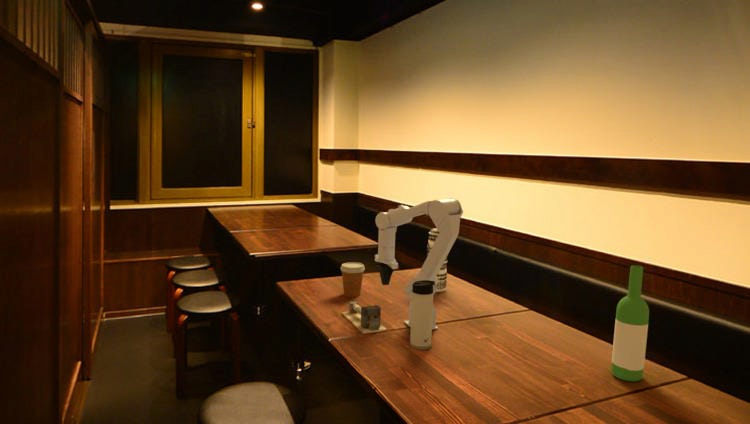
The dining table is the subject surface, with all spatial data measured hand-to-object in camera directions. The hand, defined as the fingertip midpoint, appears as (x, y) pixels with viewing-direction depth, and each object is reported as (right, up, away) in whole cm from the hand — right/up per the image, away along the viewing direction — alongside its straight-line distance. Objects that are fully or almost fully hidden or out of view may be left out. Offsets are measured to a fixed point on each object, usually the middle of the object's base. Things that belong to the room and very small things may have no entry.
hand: (385, 284), depth 185 cm
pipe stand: (-8, -11, -8) cm, 16 cm away
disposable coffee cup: (-13, -7, +22) cm, 27 cm away
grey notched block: (-5, -12, -14) cm, 19 cm away
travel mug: (+10, -15, -27) cm, 33 cm away
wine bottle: (+63, -19, -44) cm, 79 cm away
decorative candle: (+22, -7, +34) cm, 41 cm away
